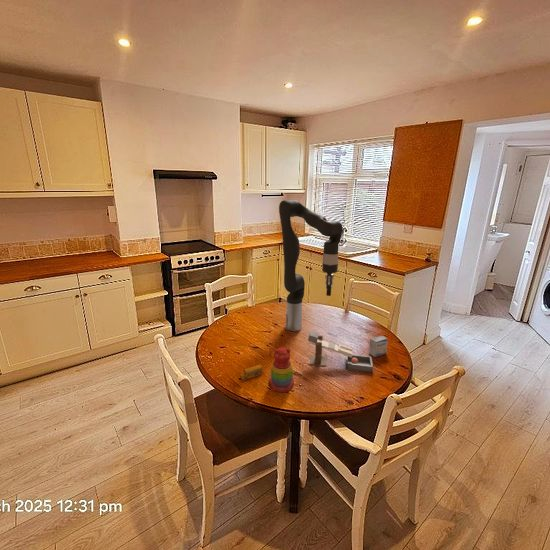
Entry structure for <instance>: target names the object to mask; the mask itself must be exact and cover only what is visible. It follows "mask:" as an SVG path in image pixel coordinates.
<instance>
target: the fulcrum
mask: <svg viewBox="0 0 550 550" xmlns="http://www.w3.org/2000/svg"><path fill="white" fill-rule="evenodd" d="M318 339H320V340H323V339H324V335H320V334H318ZM323 341H324V340H323ZM314 350H315V351H314V352H315V354H310V359H309V365H310V366H317V367H318V366H319V367H327V362H328V361H327V360H328V356H326V355H323V348H322V342H316V345H315V349H314Z"/></svg>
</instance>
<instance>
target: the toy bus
mask: <svg viewBox="0 0 550 550" xmlns="http://www.w3.org/2000/svg"><path fill="white" fill-rule="evenodd" d="M262 373H263V367H262V365H260V364H257V365H254V366H251V367H248V368H245V369H244V370H243V373H241V374H239V376H240V379H241V380H242V381H247V380H248V379H251V378H254V377H258V376H260V375H261V374H262ZM246 379H247V380H246Z"/></svg>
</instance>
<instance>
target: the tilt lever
mask: <svg viewBox="0 0 550 550" xmlns="http://www.w3.org/2000/svg"><path fill="white" fill-rule="evenodd" d="M318 335H320V334H319V332H316V331H315V330H310V332H309V334H308V339H307V341H308V344H311V345H314V346H316V342H322V349H325V350H327V351H328V350H329V351H331V352H334V353H337V354H341V355H343V356H345V357H346V356H349V357H351V358H352V355H354V353H353V348H351V347H348V346H345V345H342V344H340V343H339V344H338V345H337V344H335V343H332V342H330V341H326V340H320V339H318Z"/></svg>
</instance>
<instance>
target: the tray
mask: <svg viewBox="0 0 550 550" xmlns="http://www.w3.org/2000/svg"><path fill="white" fill-rule="evenodd" d="M352 358H357V359H358V363H357V364H352V362H351V359H352ZM352 358H351V357H349V356H346V355H345V358H344V359H345V370H347V371H348V370H349V371H354V372H355V371H356V372H364V373H371V374H372V373H373V370H374V366H373V365H374V364H373V358H372V355H363V354H361V355H360V354H353V355H352Z"/></svg>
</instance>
